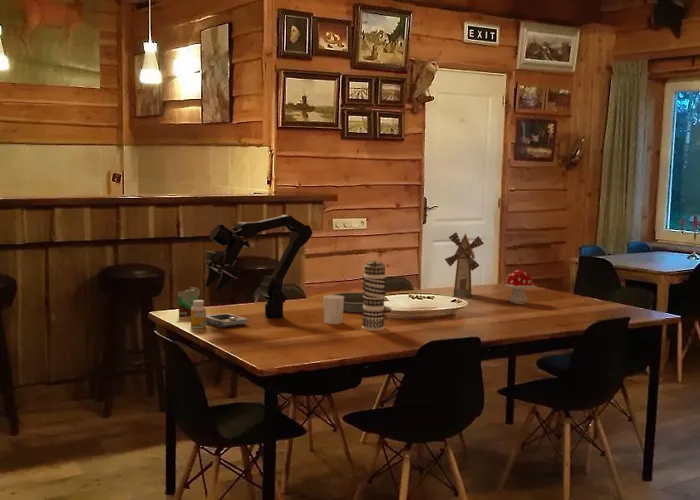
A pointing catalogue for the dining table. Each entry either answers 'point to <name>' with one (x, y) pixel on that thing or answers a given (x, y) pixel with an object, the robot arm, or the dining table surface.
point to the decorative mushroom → (518, 286)
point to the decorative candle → (373, 296)
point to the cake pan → (353, 301)
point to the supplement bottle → (198, 314)
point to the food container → (187, 300)
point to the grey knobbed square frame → (225, 320)
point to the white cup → (333, 309)
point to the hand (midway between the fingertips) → (211, 288)
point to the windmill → (463, 264)
